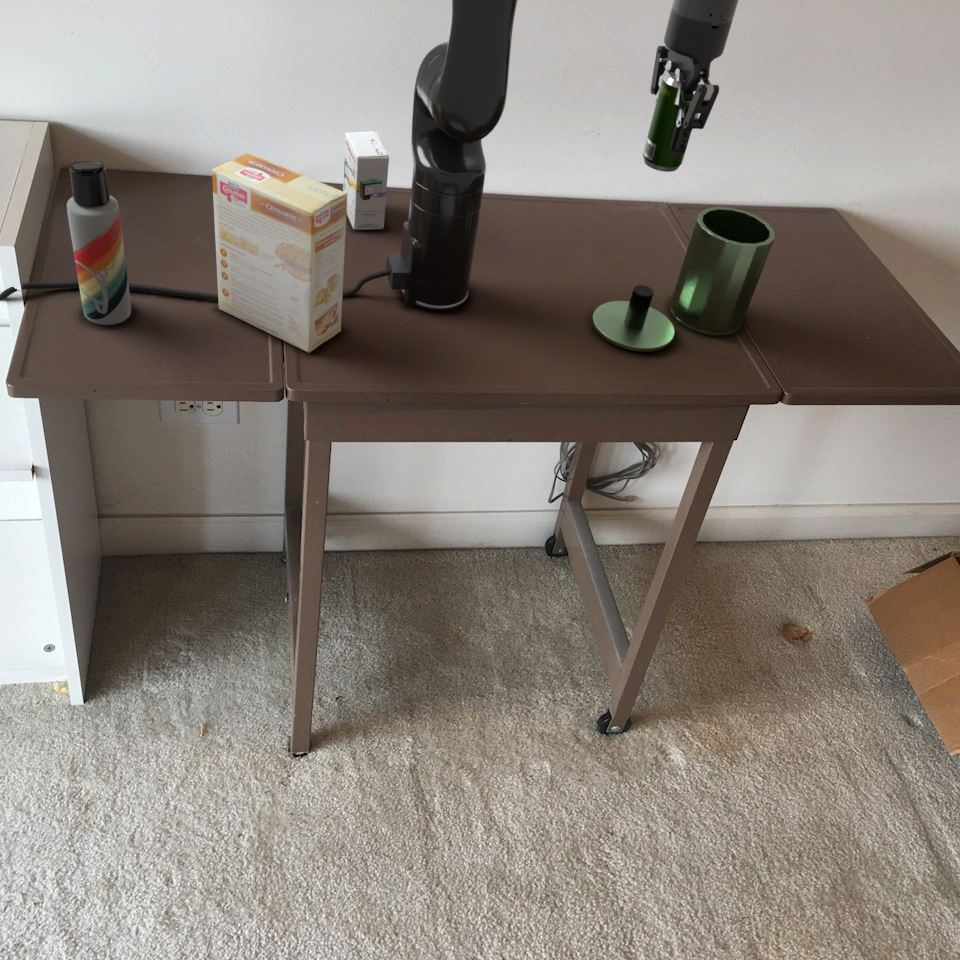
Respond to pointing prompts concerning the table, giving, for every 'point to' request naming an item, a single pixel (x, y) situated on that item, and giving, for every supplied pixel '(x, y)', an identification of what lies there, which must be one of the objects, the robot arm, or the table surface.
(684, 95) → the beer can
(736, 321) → the trash can
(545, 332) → the table surface
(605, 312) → the bin lid
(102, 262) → the lotion bottle
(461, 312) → the table surface
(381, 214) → the ink box
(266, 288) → the coffeecake box
